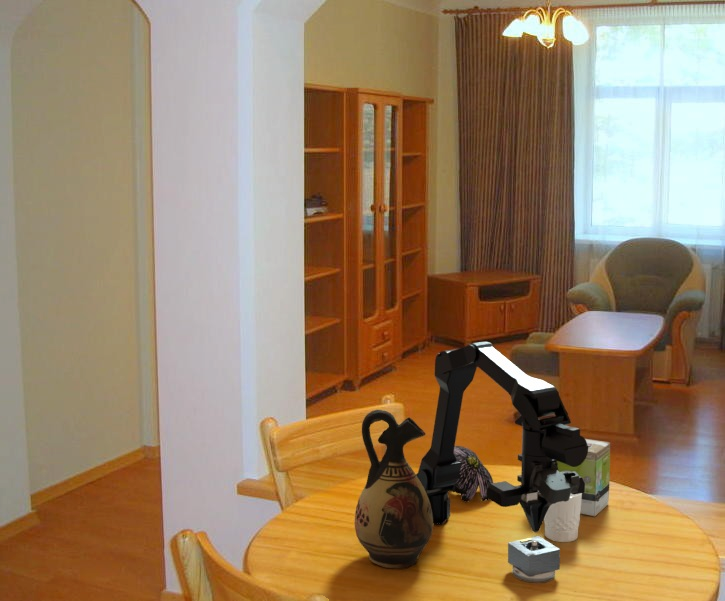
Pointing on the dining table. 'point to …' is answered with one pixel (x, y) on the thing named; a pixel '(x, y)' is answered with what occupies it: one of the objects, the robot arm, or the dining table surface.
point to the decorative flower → (471, 475)
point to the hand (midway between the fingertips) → (535, 531)
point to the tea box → (593, 476)
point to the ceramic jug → (392, 498)
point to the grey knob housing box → (533, 556)
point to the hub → (536, 578)
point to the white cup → (563, 519)
